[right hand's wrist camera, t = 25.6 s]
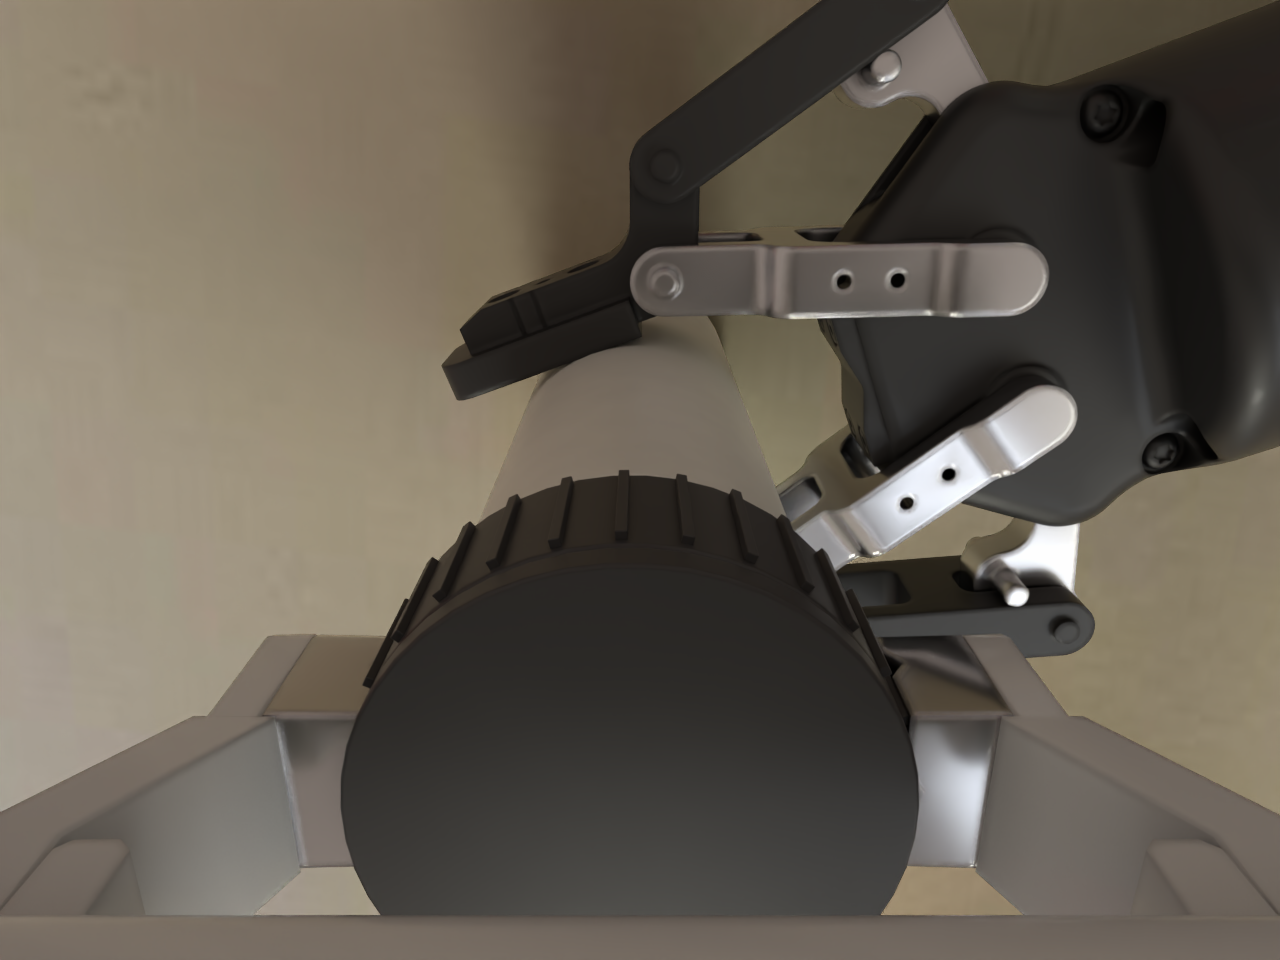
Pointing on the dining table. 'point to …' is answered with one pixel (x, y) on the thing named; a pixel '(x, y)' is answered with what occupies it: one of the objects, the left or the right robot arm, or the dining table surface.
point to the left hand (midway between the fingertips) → (513, 492)
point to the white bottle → (640, 419)
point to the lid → (630, 720)
